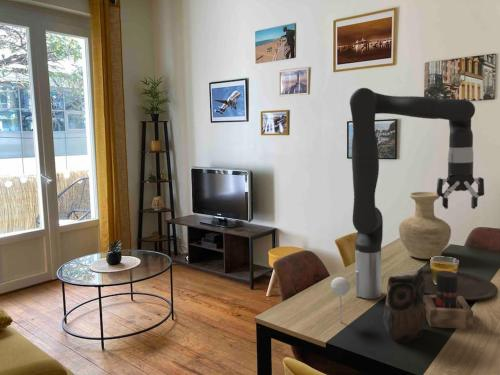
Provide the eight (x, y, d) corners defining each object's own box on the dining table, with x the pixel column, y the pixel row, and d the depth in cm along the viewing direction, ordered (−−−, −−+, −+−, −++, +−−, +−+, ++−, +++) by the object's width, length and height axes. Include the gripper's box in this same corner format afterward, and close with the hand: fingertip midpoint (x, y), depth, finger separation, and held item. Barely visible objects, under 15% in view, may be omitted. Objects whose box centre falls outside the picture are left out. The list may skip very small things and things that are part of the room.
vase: (406, 247, 211) (406, 189, 207) (454, 253, 198) (456, 191, 194) (392, 259, 193) (392, 196, 189) (445, 267, 180) (446, 199, 176)
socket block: (430, 326, 128) (430, 309, 127) (422, 310, 140) (423, 294, 139) (472, 329, 125) (473, 311, 125) (461, 311, 137) (462, 296, 136)
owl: (426, 327, 128) (427, 264, 125) (427, 347, 116) (428, 279, 114) (383, 322, 133) (383, 261, 130) (380, 341, 121) (380, 275, 118)
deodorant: (458, 323, 129) (459, 277, 127) (438, 322, 130) (439, 277, 128) (453, 315, 135) (454, 271, 133) (434, 314, 136) (434, 270, 134)
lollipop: (346, 328, 130) (345, 282, 128) (328, 324, 133) (327, 279, 131) (352, 319, 135) (352, 275, 133) (335, 316, 138) (334, 273, 136)
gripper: (440, 162, 137) (439, 210, 139) (487, 161, 134) (486, 210, 136) (435, 160, 144) (434, 206, 146) (480, 159, 141) (479, 206, 143)
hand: (459, 208), depth 141 cm, fingers open, 8 cm apart
